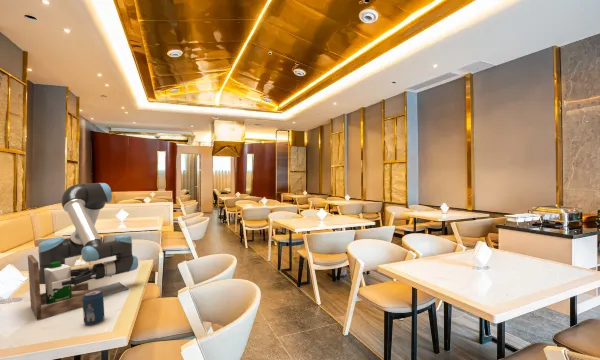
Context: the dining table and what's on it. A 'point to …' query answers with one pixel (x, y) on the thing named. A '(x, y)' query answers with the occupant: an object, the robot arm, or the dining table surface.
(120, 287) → the mat
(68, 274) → the soya milk
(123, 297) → the dining table surface
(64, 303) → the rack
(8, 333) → the dining table surface
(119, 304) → the dining table surface
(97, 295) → the soda can
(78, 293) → the offcut upper
